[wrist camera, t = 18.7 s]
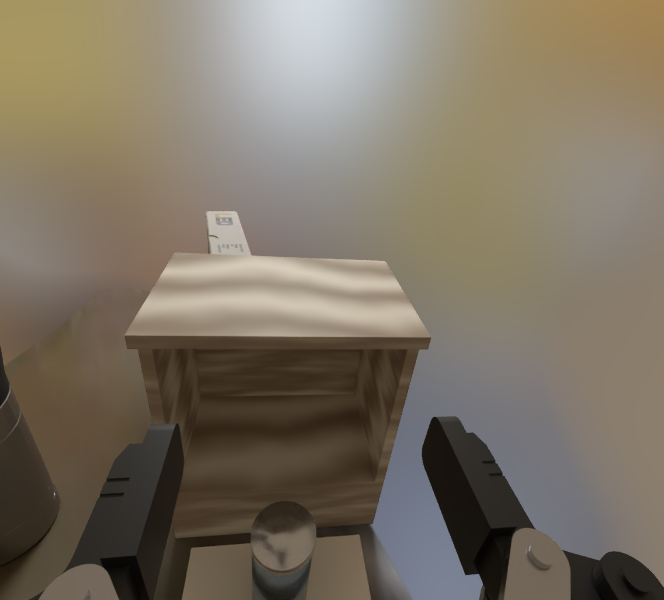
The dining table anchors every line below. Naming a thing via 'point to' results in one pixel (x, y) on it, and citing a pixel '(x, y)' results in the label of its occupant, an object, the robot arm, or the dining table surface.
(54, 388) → the dining table surface
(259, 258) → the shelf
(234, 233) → the packaging
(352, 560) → the tile
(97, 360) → the dining table surface
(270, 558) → the tin
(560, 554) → the robot arm
